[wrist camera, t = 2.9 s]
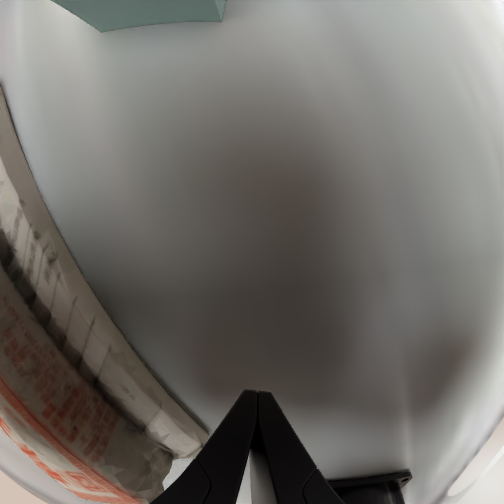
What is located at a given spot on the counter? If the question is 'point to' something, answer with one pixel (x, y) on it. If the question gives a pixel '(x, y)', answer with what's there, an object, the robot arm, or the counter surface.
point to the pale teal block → (143, 12)
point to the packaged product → (74, 362)
